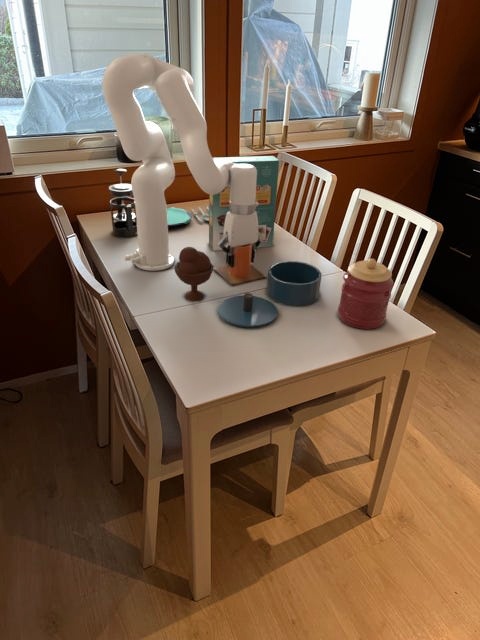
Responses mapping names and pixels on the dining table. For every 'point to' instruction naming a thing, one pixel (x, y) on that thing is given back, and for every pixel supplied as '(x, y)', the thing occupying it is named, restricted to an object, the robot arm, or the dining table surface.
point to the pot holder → (234, 280)
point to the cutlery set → (182, 216)
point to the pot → (293, 283)
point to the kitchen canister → (365, 294)
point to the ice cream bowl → (193, 271)
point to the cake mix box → (264, 197)
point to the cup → (242, 261)
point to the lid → (247, 310)
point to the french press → (123, 219)
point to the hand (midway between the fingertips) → (240, 263)
